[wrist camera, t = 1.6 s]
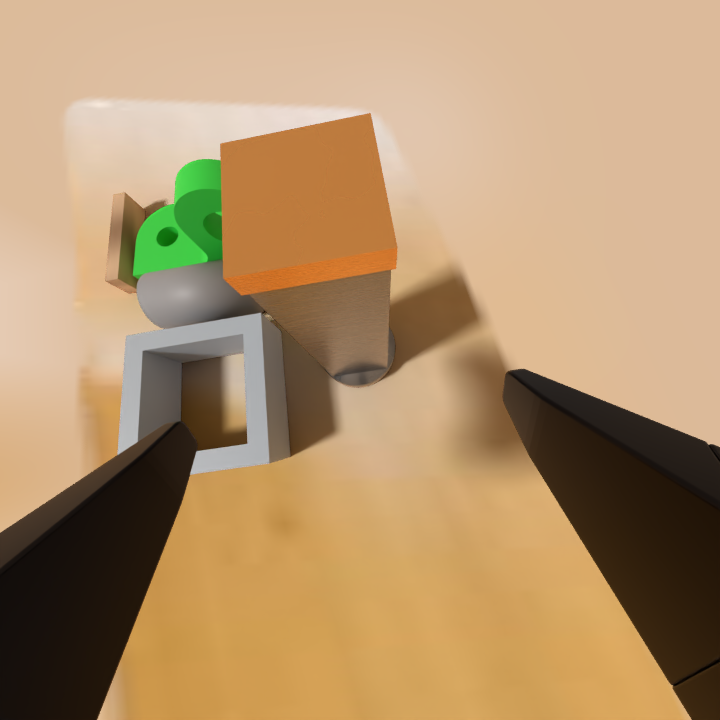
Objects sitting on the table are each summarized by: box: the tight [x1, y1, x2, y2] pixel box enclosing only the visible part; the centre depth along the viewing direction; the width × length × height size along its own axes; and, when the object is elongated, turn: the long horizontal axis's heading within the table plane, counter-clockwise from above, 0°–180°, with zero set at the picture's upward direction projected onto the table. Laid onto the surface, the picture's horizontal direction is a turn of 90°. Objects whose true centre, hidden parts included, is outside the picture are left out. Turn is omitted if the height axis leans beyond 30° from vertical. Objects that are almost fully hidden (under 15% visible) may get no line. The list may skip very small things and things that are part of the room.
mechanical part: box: [133, 159, 223, 279], centre depth 20 cm, size 12×6×8 cm, turn 97°
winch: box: [118, 259, 291, 474], centre depth 19 cm, size 14×9×4 cm, turn 8°
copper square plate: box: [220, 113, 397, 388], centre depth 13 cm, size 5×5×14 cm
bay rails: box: [105, 192, 145, 293], centre depth 22 cm, size 8×16×2 cm, turn 98°
